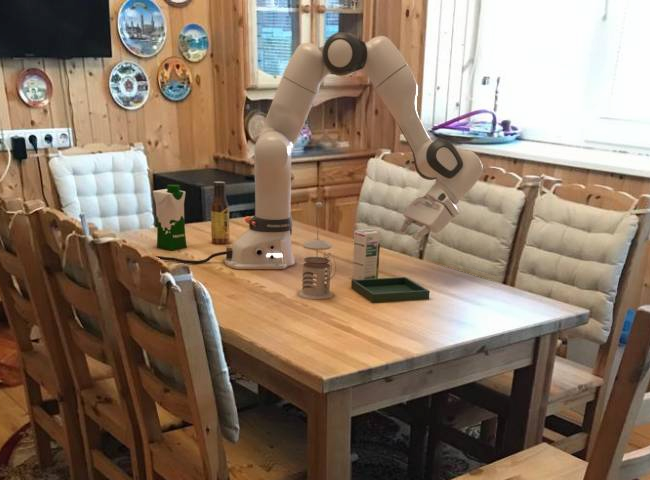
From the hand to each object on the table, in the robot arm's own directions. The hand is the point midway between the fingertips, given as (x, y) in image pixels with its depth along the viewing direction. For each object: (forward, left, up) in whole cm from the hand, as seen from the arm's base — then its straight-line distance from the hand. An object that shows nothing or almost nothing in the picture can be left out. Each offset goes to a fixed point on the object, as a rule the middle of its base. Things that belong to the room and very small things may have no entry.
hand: (407, 235), depth 246 cm
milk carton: (-61, +53, -13) cm, 82 cm away
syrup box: (-13, 0, -13) cm, 19 cm away
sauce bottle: (-43, +57, -13) cm, 73 cm away
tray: (-12, -16, -13) cm, 24 cm away
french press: (-33, -13, -13) cm, 38 cm away
